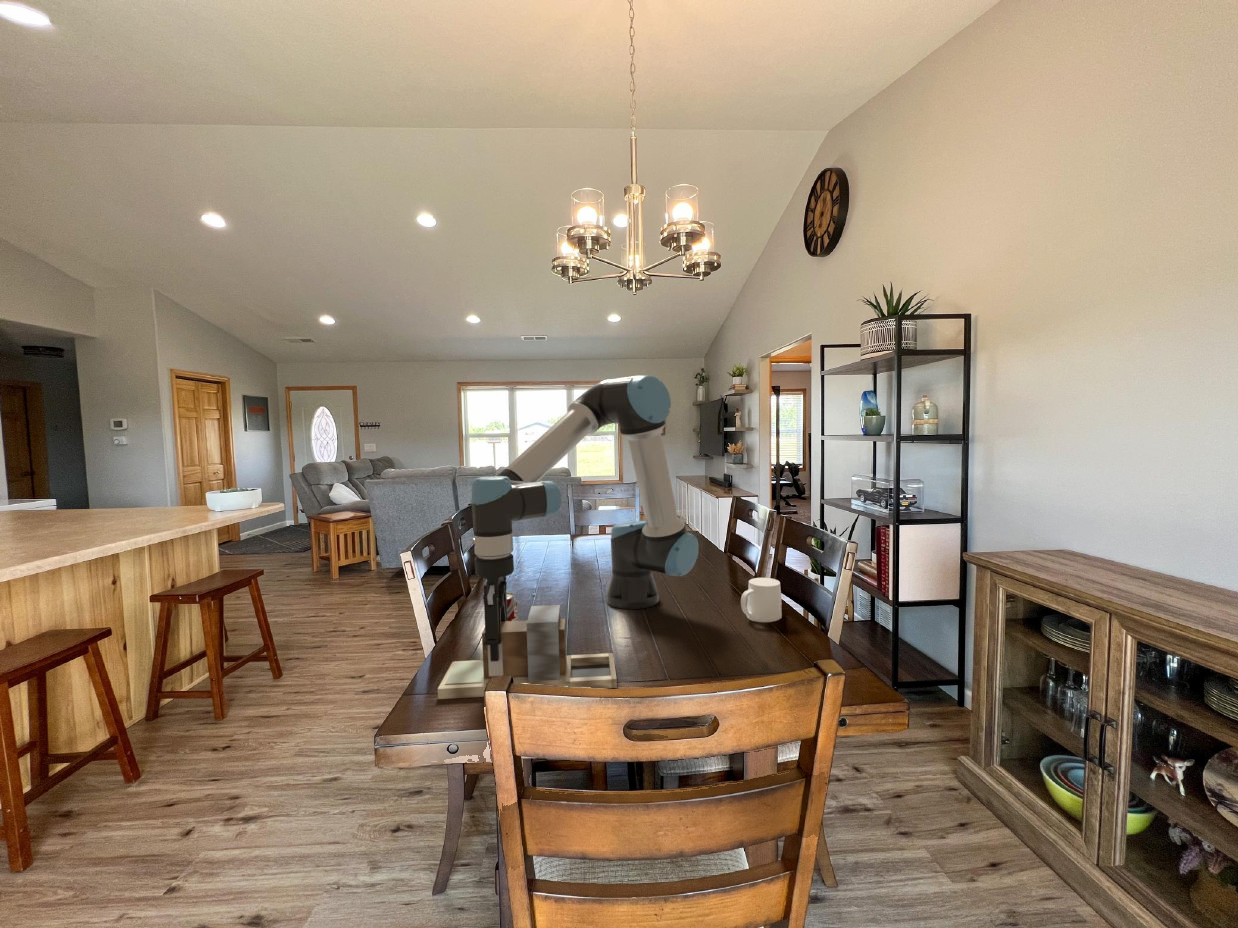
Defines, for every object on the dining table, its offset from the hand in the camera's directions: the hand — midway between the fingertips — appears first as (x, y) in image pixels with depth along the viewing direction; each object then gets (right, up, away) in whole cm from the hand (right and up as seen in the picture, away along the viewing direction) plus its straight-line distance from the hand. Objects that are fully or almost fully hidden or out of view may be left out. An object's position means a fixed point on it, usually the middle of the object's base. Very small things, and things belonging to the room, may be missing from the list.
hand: (498, 667), depth 109 cm
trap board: (+6, -3, +1) cm, 7 cm away
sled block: (+6, -1, 0) cm, 6 cm away
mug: (+61, +1, +32) cm, 69 cm away
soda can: (-3, -2, +18) cm, 18 cm away
